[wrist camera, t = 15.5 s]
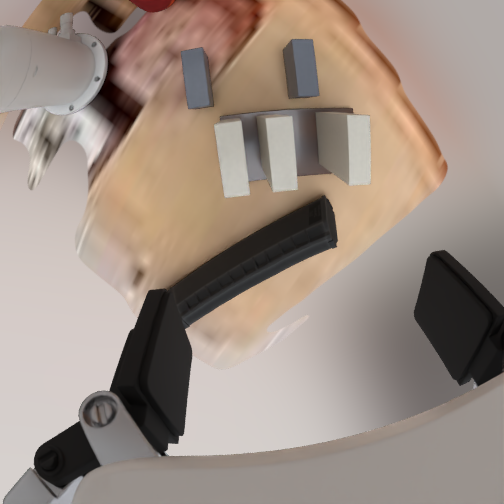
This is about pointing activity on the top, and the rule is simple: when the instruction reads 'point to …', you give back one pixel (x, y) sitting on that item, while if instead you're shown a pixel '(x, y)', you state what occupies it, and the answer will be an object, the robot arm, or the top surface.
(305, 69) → the grey book
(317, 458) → the robot arm
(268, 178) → the white book
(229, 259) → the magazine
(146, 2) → the paper cup
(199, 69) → the grey book
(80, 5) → the top surface
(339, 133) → the white book
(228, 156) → the white book
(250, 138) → the shelf board
